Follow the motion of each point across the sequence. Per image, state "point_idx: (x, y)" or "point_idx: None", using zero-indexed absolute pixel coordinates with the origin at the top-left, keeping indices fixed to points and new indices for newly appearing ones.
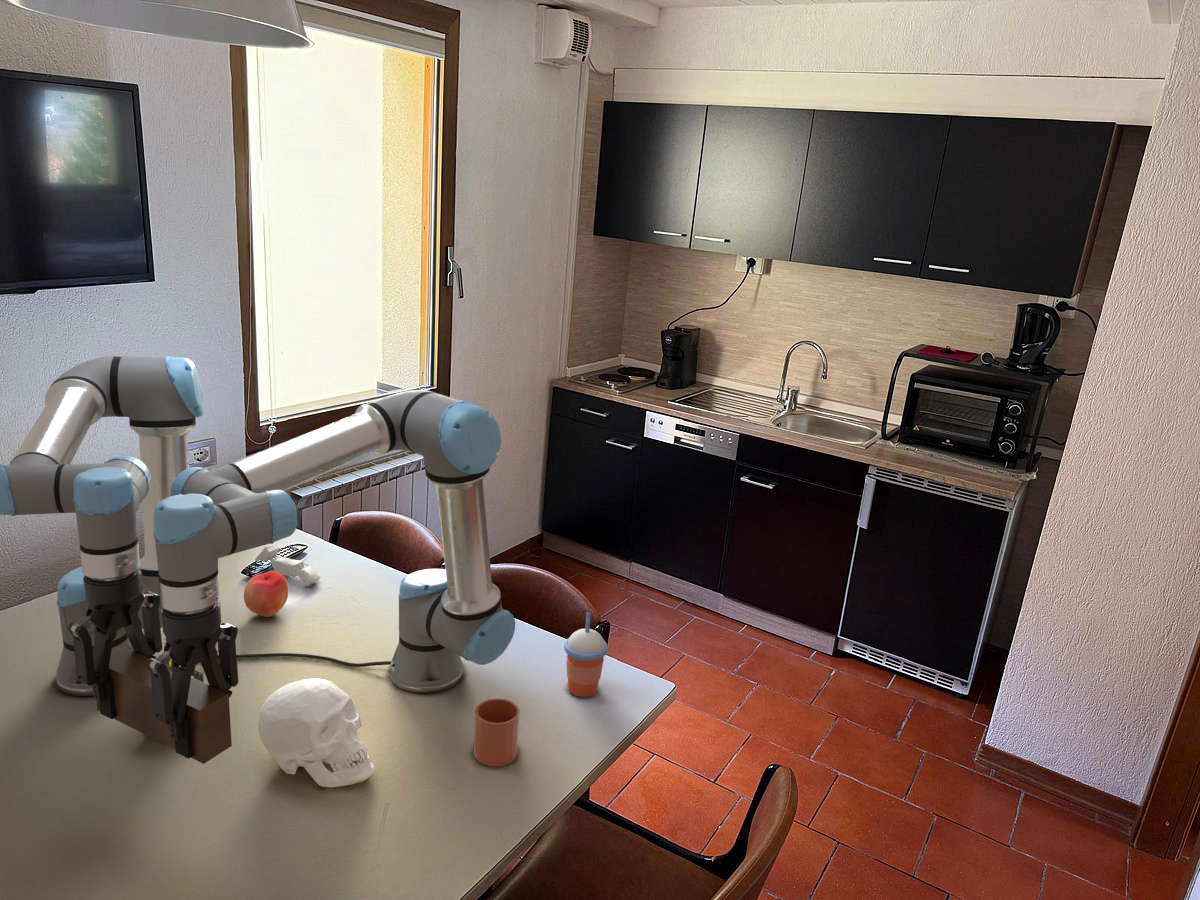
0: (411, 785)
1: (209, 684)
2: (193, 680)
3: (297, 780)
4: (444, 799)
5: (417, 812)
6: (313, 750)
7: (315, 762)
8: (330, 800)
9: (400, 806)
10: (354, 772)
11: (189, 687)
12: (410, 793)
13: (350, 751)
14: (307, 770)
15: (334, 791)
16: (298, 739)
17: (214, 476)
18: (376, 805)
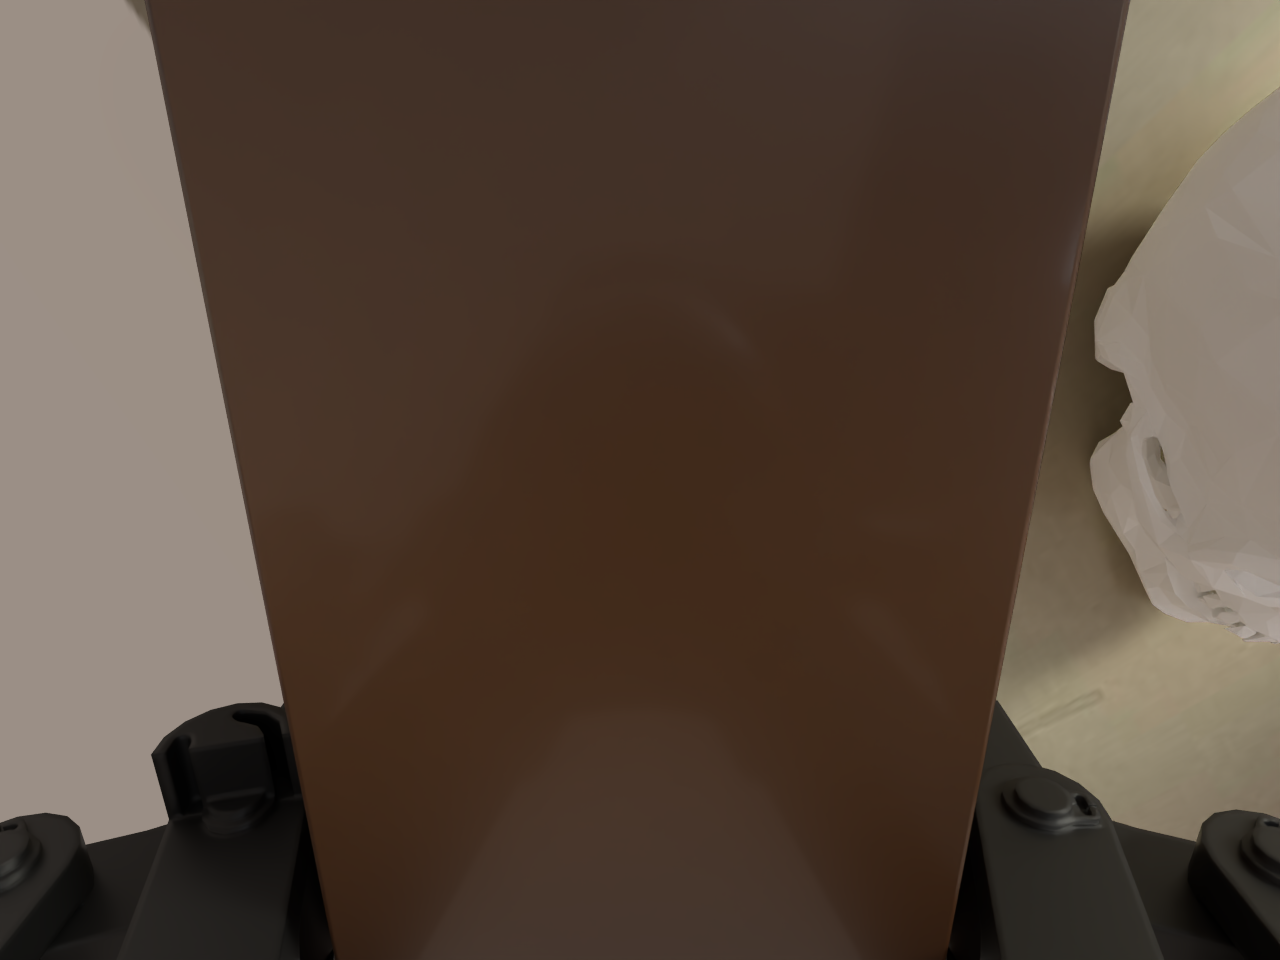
0: (1214, 704)
1: (989, 908)
2: (940, 687)
3: (1091, 349)
4: (1183, 816)
5: (1094, 787)
6: (1179, 543)
7: (1155, 485)
8: (1036, 535)
9: (1100, 734)
10: (1175, 599)
11: (711, 814)
12: (1173, 723)
13: (1256, 616)
14: (1118, 436)
15: (1086, 514)
16: (1220, 464)
17: None
18: (1075, 674)
